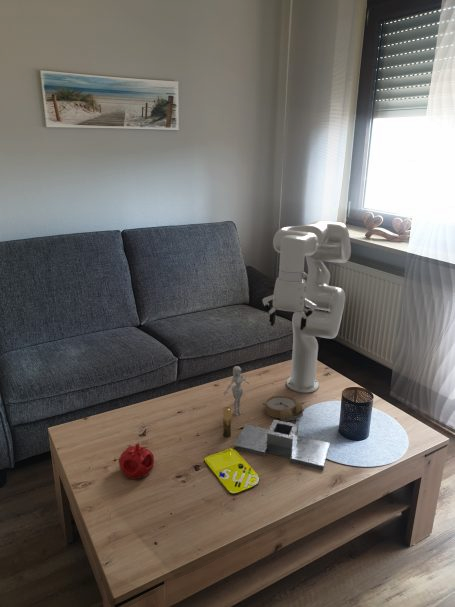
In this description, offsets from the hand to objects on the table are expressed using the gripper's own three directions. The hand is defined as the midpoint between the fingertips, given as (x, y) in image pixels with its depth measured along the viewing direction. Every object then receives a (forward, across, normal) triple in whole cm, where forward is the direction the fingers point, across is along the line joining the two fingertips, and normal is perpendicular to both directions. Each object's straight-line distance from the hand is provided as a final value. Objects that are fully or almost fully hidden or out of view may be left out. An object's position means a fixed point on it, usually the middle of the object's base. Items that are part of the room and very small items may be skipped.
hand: (287, 326), depth 156 cm
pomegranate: (+36, +34, +40) cm, 64 cm away
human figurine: (+35, +16, 0) cm, 39 cm away
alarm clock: (+35, 0, -5) cm, 36 cm away
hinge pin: (+35, +15, +14) cm, 41 cm away
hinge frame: (+35, -4, +15) cm, 38 cm away
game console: (+36, +8, +30) cm, 48 cm away
